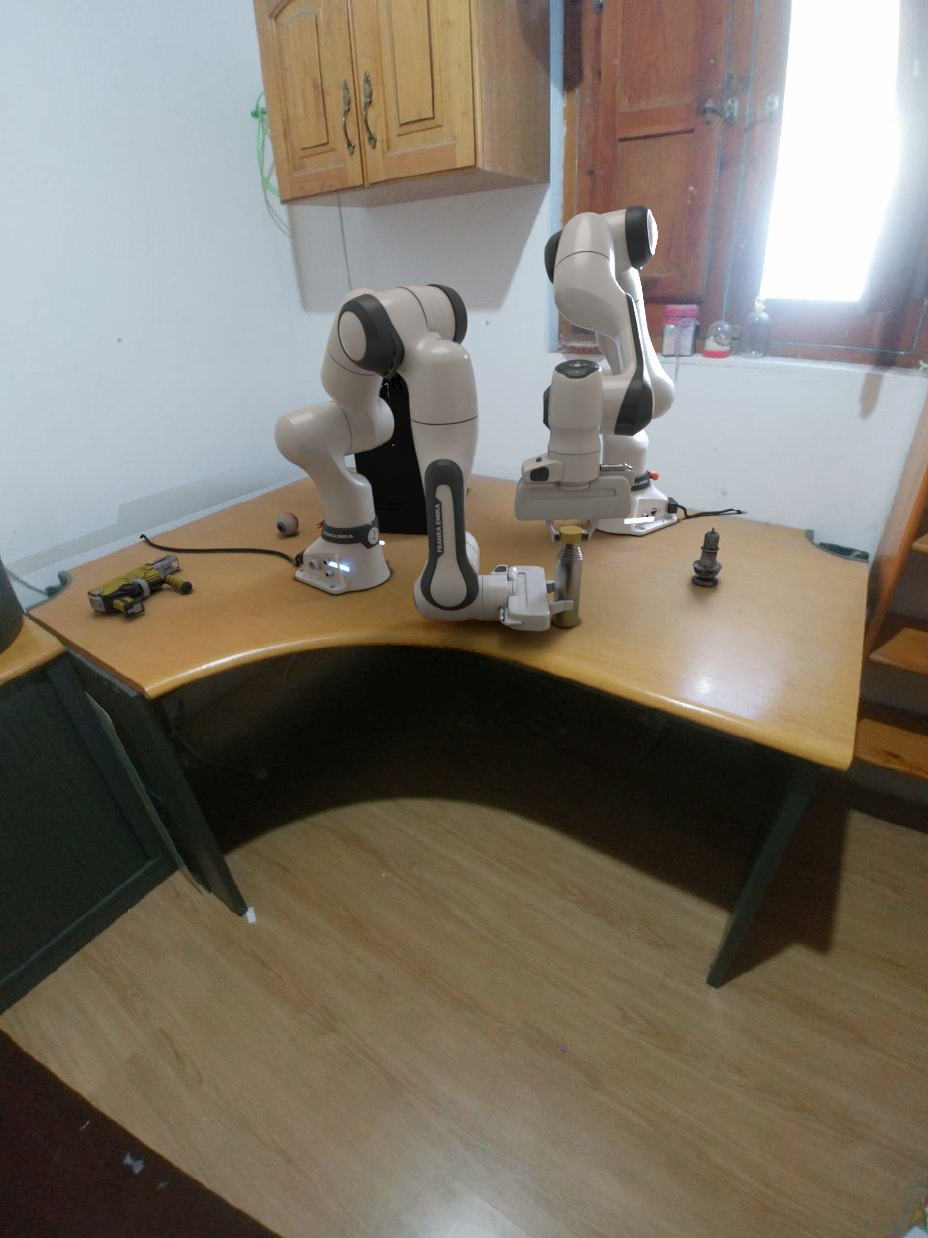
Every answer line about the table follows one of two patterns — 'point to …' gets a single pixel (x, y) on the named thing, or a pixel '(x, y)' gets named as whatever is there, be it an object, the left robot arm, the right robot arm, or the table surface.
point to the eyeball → (287, 523)
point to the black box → (396, 468)
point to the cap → (571, 534)
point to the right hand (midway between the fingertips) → (570, 541)
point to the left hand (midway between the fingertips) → (571, 596)
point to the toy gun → (136, 587)
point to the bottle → (568, 582)
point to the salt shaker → (708, 561)
